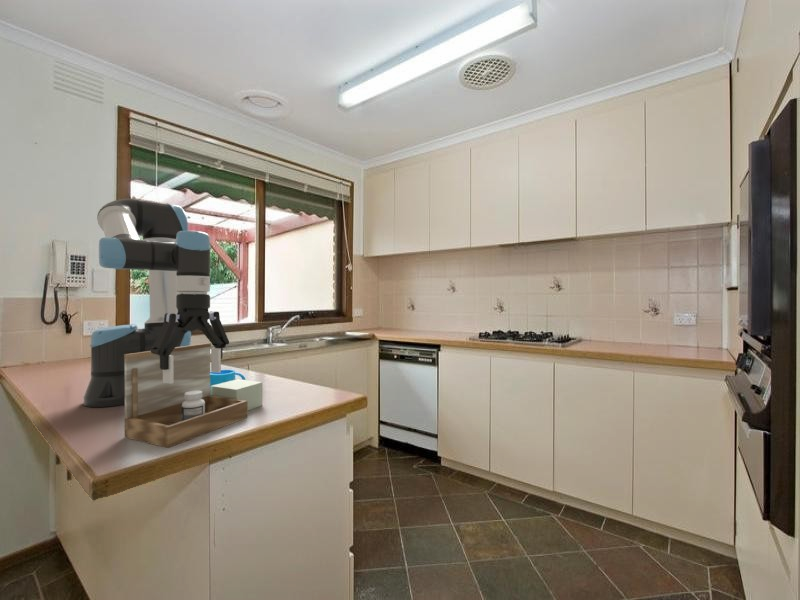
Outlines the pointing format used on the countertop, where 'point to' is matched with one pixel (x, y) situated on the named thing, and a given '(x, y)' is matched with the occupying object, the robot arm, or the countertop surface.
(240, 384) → the step
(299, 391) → the countertop surface
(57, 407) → the countertop surface
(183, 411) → the pill bottle
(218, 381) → the mug
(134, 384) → the wooden tray with backboard
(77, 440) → the countertop surface
